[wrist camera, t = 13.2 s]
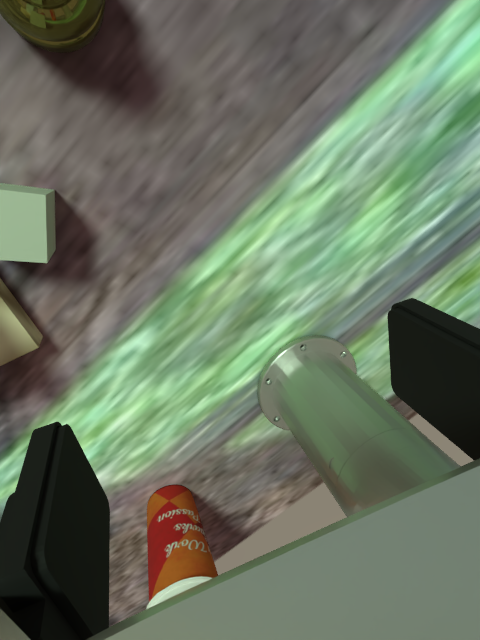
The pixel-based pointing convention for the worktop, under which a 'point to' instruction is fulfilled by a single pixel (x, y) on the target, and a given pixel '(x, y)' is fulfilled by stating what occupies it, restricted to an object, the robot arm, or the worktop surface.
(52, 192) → the sage block
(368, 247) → the worktop surface
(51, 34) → the olive pawn figure
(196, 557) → the paper cup
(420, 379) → the robot arm
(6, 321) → the maple slab
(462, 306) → the worktop surface
